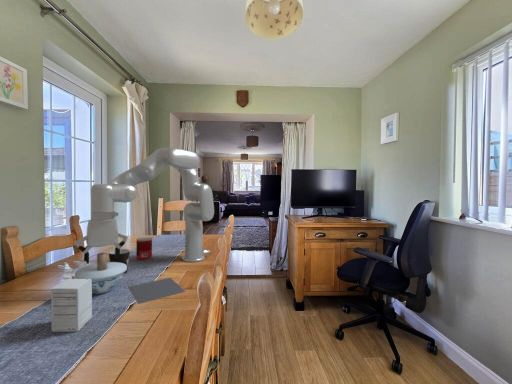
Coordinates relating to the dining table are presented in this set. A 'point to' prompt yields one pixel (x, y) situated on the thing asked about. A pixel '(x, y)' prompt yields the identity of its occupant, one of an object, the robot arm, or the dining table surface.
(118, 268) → the lid
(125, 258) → the coffee mug
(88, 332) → the dining table surface
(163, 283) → the mat
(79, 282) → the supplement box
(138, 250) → the canned food
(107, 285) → the chinaware
